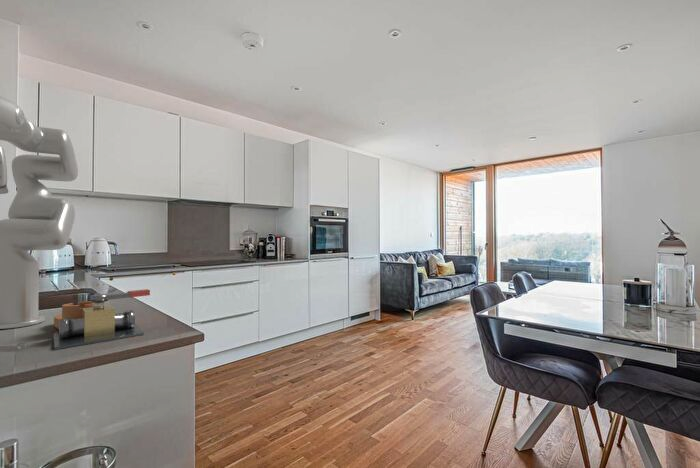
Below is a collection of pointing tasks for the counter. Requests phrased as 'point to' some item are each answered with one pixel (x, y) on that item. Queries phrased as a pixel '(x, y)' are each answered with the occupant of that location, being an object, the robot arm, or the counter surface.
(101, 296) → the lever
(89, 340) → the valve
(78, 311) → the bracket
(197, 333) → the counter surface
